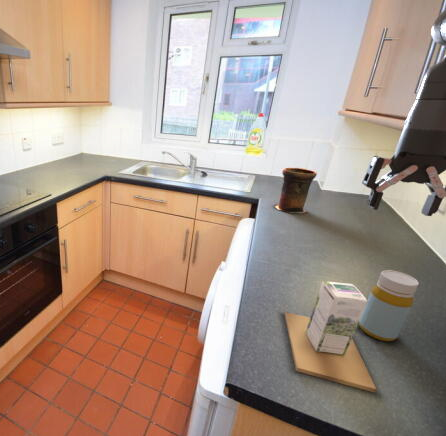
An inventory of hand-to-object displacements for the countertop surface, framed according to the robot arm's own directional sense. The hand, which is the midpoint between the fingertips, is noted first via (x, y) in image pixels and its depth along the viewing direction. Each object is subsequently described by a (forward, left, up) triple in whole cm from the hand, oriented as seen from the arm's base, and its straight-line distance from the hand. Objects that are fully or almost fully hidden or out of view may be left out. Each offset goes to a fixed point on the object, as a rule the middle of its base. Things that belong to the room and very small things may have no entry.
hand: (399, 211), depth 59 cm
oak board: (+8, +9, -30) cm, 32 cm away
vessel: (+1, -92, -30) cm, 97 cm away
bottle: (-5, -2, -30) cm, 31 cm away
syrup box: (+8, +9, -29) cm, 32 cm away
